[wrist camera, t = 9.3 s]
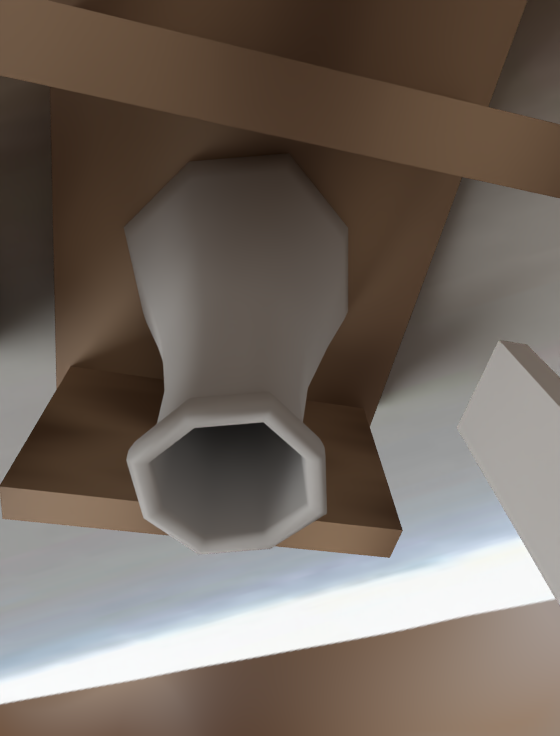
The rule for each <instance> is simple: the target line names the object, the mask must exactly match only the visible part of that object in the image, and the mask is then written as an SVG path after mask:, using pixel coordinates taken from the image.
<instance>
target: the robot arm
mask: <svg viewBox="0 0 560 736" xmlns="http://www.w3.org/2000/svg"><path fill="white" fill-rule="evenodd" d="M457 429H458V431H459V433H460V434H461V436H462V438H463V440H464V441H465V443H466V445H467V446H468V448H469V450H470V452H471V453H472V455H473V457H474V459H475V460H476V462H477V464H478V465H479V467H480V469H481V471H482V472H483V474H484V476H485V478H486V479H487V481H488V483H489V484H490V486H491V488H492V490H493V491H494V493H495V495H496V497H497V498H498V500H499V502H500V503H501V505H502V507H503V509H504V510H505V512H506V514H507V516H508V517H509V519H510V521H511V522H512V524H513V526H514V528H515V529H516V531H517V533H518V535H519V536H520V538H521V540H522V541H523V543H524V545H525V547H526V548H527V550H528V552H529V554H530V555H531V557H532V559H533V561H534V562H535V564H536V566H537V567H538V569H539V571H540V573H541V574H542V576H543V578H544V580H545V581H546V583H547V585H548V586H549V588H550V590H551V592H552V593H553V595H554V597H555V599H556V600H557V602H558V604H559V605H560V378H559V377H558V376H557V374H556V373H555V372H554V371H553V370H552V369H551V368H550V367H549V366H548V365H547V364H546V363H545V362H544V361H543V360H542V359H541V358H540V357H539V356H538V355H537V354H536V353H535V352H534V351H533V350H532V349H531V348H530V347H529V346H528V345H526V344H520V343H514V342H508V341H502V340H499V341H498V343H497V345H496V347H495V349H494V351H493V353H492V355H491V357H490V360H489V362H488V364H487V366H486V368H485V370H484V372H483V374H482V376H481V378H480V380H479V382H478V385H477V387H476V389H475V391H474V393H473V395H472V397H471V399H470V401H469V403H468V405H467V407H466V410H465V412H464V414H463V416H462V418H461V420H460V422H459V424H458V426H457Z"/></svg>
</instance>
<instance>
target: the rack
mask: <svg viewBox="0 0 560 736" xmlns="http://www.w3.org/2000/svg"><path fill="white" fill-rule="evenodd" d="M527 1H528V0H0V76H5V77H9V78H14V79H19V80H23V81H28V82H32V83H37V84H41V85H46V86H50V115H51V160H52V205H53V250H54V295H55V340H56V385H57V390H56V392H55V393H54V395H53V397H52V398H51V400H50V402H49V403H48V405H47V407H46V409H45V410H44V412H43V414H42V415H41V417H40V419H39V420H38V422H37V424H36V425H35V427H34V429H33V430H32V432H31V434H30V436H29V437H28V439H27V441H26V442H25V444H24V446H23V447H22V449H21V451H20V452H19V454H18V456H17V457H16V459H15V461H14V463H13V464H12V466H11V468H10V469H9V471H8V473H7V474H6V476H5V478H4V479H3V481H2V483H1V484H0V498H1V507H2V517H3V519H10V520H20V521H30V522H40V523H50V524H60V525H70V526H80V527H90V528H100V529H110V530H120V531H130V532H139V533H149V534H159V535H168V534H167V533H165V532H164V531H162V530H161V529H159V528H158V527H156V526H155V525H153V524H152V523H150V522H149V521H147V520H146V519H144V518H143V515H142V511H141V508H140V505H139V501H138V498H137V495H136V491H135V488H134V484H133V481H132V478H131V474H130V471H129V468H128V464H127V461H126V459H127V454H128V450H129V449H130V448H131V446H132V445H133V444H134V442H135V441H136V440H137V439H139V438H140V437H141V436H142V435H144V434H145V433H146V432H147V431H149V430H150V429H151V428H153V427H154V426H155V425H156V424H157V421H158V417H159V413H160V408H161V404H162V400H163V395H164V391H165V389H164V370H163V360H162V357H161V355H160V352H159V349H158V346H157V344H156V342H155V340H154V338H153V335H152V333H151V331H150V329H149V327H148V324H147V322H146V319H145V317H144V314H143V310H142V306H141V301H140V297H139V292H138V288H137V284H136V279H135V275H134V271H133V266H132V262H131V258H130V253H129V249H128V244H127V240H126V236H125V231H124V227H125V226H126V225H127V224H128V223H129V222H130V221H131V220H132V219H133V218H134V217H135V216H136V215H137V214H138V213H139V212H140V211H141V210H142V209H143V208H144V207H145V206H146V205H147V204H148V203H149V202H150V201H151V200H152V199H153V198H154V197H155V196H156V195H157V193H158V192H159V191H160V190H161V189H162V188H163V187H164V186H165V185H166V184H167V183H168V182H169V181H170V180H171V179H172V178H173V177H174V176H175V175H176V174H177V173H178V172H179V171H180V170H181V169H182V168H183V167H184V166H185V165H186V164H187V163H188V162H189V161H201V160H214V159H226V158H239V157H251V156H263V155H276V154H288V153H289V154H290V156H291V157H292V158H293V159H294V161H295V162H296V163H297V164H298V166H299V167H300V168H301V169H302V171H303V172H304V173H305V174H306V176H307V177H308V178H309V179H310V181H311V182H312V183H313V184H314V186H315V187H316V188H317V189H318V191H319V192H320V193H321V194H322V196H323V197H324V198H325V199H326V201H327V202H328V203H329V204H330V206H331V207H332V208H333V209H334V211H335V212H336V213H337V214H338V216H339V217H340V218H341V219H342V221H343V222H344V223H345V225H346V226H347V227H348V313H347V315H346V317H345V319H344V321H343V322H342V324H341V326H340V327H339V329H338V331H337V332H336V334H335V336H334V337H333V339H332V341H331V342H330V344H329V345H328V347H327V349H326V351H325V354H324V356H323V358H322V360H321V362H320V364H319V366H318V368H317V370H316V372H315V374H314V376H313V378H312V380H311V383H310V385H309V387H308V390H307V397H306V404H305V411H304V418H303V423H304V424H305V425H306V426H307V427H308V428H309V429H310V430H311V431H312V432H314V433H315V434H316V435H317V436H318V437H319V438H320V440H321V441H322V443H323V445H324V447H325V458H326V494H327V514H326V515H324V516H322V517H321V518H319V519H317V520H316V521H314V522H313V523H311V524H309V525H308V526H306V527H305V528H303V529H301V530H300V531H298V532H297V533H295V534H293V535H292V536H290V537H289V538H287V539H285V540H284V541H282V542H280V543H279V544H277V545H276V546H279V547H289V548H298V549H308V550H318V551H328V552H338V553H348V554H358V555H368V556H378V557H388V558H390V556H391V554H392V552H393V550H394V548H395V545H396V543H397V541H398V539H399V537H400V535H401V533H402V531H403V530H402V527H401V524H400V521H399V518H398V515H397V511H396V508H395V505H394V502H393V499H392V496H391V493H390V489H389V486H388V483H387V480H386V477H385V474H384V471H383V468H382V464H381V461H380V458H379V455H378V452H377V449H376V446H375V442H374V439H373V436H372V433H371V430H370V425H371V422H372V419H373V417H374V414H375V411H376V409H377V406H378V403H379V400H380V398H381V395H382V392H383V390H384V387H385V384H386V382H387V379H388V376H389V373H390V371H391V368H392V365H393V363H394V360H395V357H396V355H397V352H398V349H399V346H400V344H401V341H402V338H403V336H404V333H405V330H406V328H407V325H408V322H409V319H410V317H411V314H412V311H413V309H414V306H415V303H416V301H417V298H418V295H419V292H420V290H421V287H422V284H423V282H424V279H425V276H426V274H427V271H428V268H429V265H430V263H431V260H432V257H433V255H434V252H435V249H436V247H437V244H438V241H439V238H440V236H441V233H442V230H443V228H444V225H445V222H446V220H447V217H448V214H449V211H450V209H451V206H452V203H453V201H454V198H455V195H456V193H457V190H458V187H459V184H460V182H461V179H462V177H465V178H470V179H474V180H479V181H484V182H488V183H493V184H497V185H502V186H506V187H511V188H515V189H520V190H525V191H529V192H534V193H538V194H543V195H547V196H552V197H557V198H560V124H556V123H552V122H547V121H543V120H539V119H535V118H531V117H527V116H523V115H519V114H514V113H510V112H506V111H502V110H498V109H494V108H490V107H488V106H489V103H490V101H491V98H492V95H493V93H494V90H495V87H496V85H497V82H498V79H499V76H500V74H501V71H502V68H503V66H504V63H505V60H506V58H507V55H508V52H509V49H510V47H511V44H512V41H513V39H514V36H515V33H516V31H517V28H518V25H519V22H520V20H521V17H522V14H523V12H524V9H525V6H526V4H527ZM169 536H170V535H169Z"/></svg>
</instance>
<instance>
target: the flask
mask: <svg viewBox="0 0 560 736" xmlns="http://www.w3.org/2000/svg"><path fill="white" fill-rule="evenodd" d="M124 231H125V236H126V240H127V244H128V249H129V253H130V258H131V262H132V266H133V271H134V275H135V279H136V284H137V288H138V292H139V297H140V301H141V306H142V310H143V314H144V317H145V319H146V322H147V324H148V327H149V329H150V331H151V333H152V335H153V338H154V340H155V342H156V344H157V346H158V349H159V352H160V355H161V357H162V360H163V370H164V389H165V391H164V395H163V400H162V404H161V408H160V413H159V417H158V421H157V424H156V425H155V426H154V427H153V428H151V429H150V430H149V431H147V432H146V433H145V434H144V435H142V436H141V437H140V438H139V439H137V440H136V441H135V442H134V444H133V445H132V446H131V448H130V449H129V450H128V454H127V459H126V461H127V464H128V468H129V471H130V474H131V478H132V481H133V484H134V488H135V491H136V495H137V498H138V501H139V505H140V508H141V511H142V515H143V518H144V519H146V520H147V521H149V522H150V523H152V524H153V525H155V526H156V527H158V528H159V529H161V530H162V531H164V532H165V533H167V534H168V535H170V536H171V537H173V538H174V539H176V540H177V541H179V542H180V543H182V544H183V545H185V546H186V547H188V548H189V549H191V550H192V551H194V552H195V553H197V554H198V555H202V554H214V553H225V552H237V551H249V550H261V549H271V548H272V547H274V546H276V545H277V544H279V543H280V542H282V541H284V540H285V539H287V538H289V537H290V536H292V535H293V534H295V533H297V532H298V531H300V530H301V529H303V528H305V527H306V526H308V525H309V524H311V523H313V522H314V521H316V520H317V519H319V518H321V517H322V516H324V515H326V514H327V494H326V458H325V447H324V445H323V443H322V441H321V440H320V438H319V437H318V436H317V435H316V434H315V433H314V432H312V431H311V430H310V429H309V428H308V427H307V426H306V425H305V424H304V423H303V418H304V411H305V404H306V397H307V390H308V387H309V385H310V383H311V380H312V378H313V376H314V374H315V372H316V370H317V368H318V366H319V364H320V362H321V360H322V358H323V356H324V354H325V351H326V349H327V347H328V345H329V344H330V342H331V341H332V339H333V337H334V336H335V334H336V332H337V331H338V329H339V327H340V326H341V324H342V322H343V321H344V319H345V317H346V315H347V313H348V227H347V226H346V225H345V223H344V222H343V221H342V219H341V218H340V217H339V216H338V214H337V213H336V212H335V211H334V209H333V208H332V207H331V206H330V204H329V203H328V202H327V201H326V199H325V198H324V197H323V196H322V194H321V193H320V192H319V191H318V189H317V188H316V187H315V186H314V184H313V183H312V182H311V181H310V179H309V178H308V177H307V176H306V174H305V173H304V172H303V171H302V169H301V168H300V167H299V166H298V164H297V163H296V162H295V161H294V159H293V158H292V157H291V156H290V154H289V153H288V154H276V155H263V156H251V157H239V158H226V159H214V160H201V161H189V162H188V163H187V164H186V165H185V166H184V167H183V168H182V169H181V170H180V171H179V172H178V173H177V174H176V175H175V176H174V177H173V178H172V179H171V180H170V181H169V182H168V183H167V184H166V185H165V186H164V187H163V188H162V189H161V190H160V191H159V192H158V193H157V195H156V196H155V197H154V198H153V199H152V200H151V201H150V202H149V203H148V204H147V205H146V206H145V207H144V208H143V209H142V210H141V211H140V212H139V213H138V214H137V215H136V216H135V217H134V218H133V219H132V220H131V221H130V222H129V223H128V224H127V225H126V226H125V227H124Z"/></svg>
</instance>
